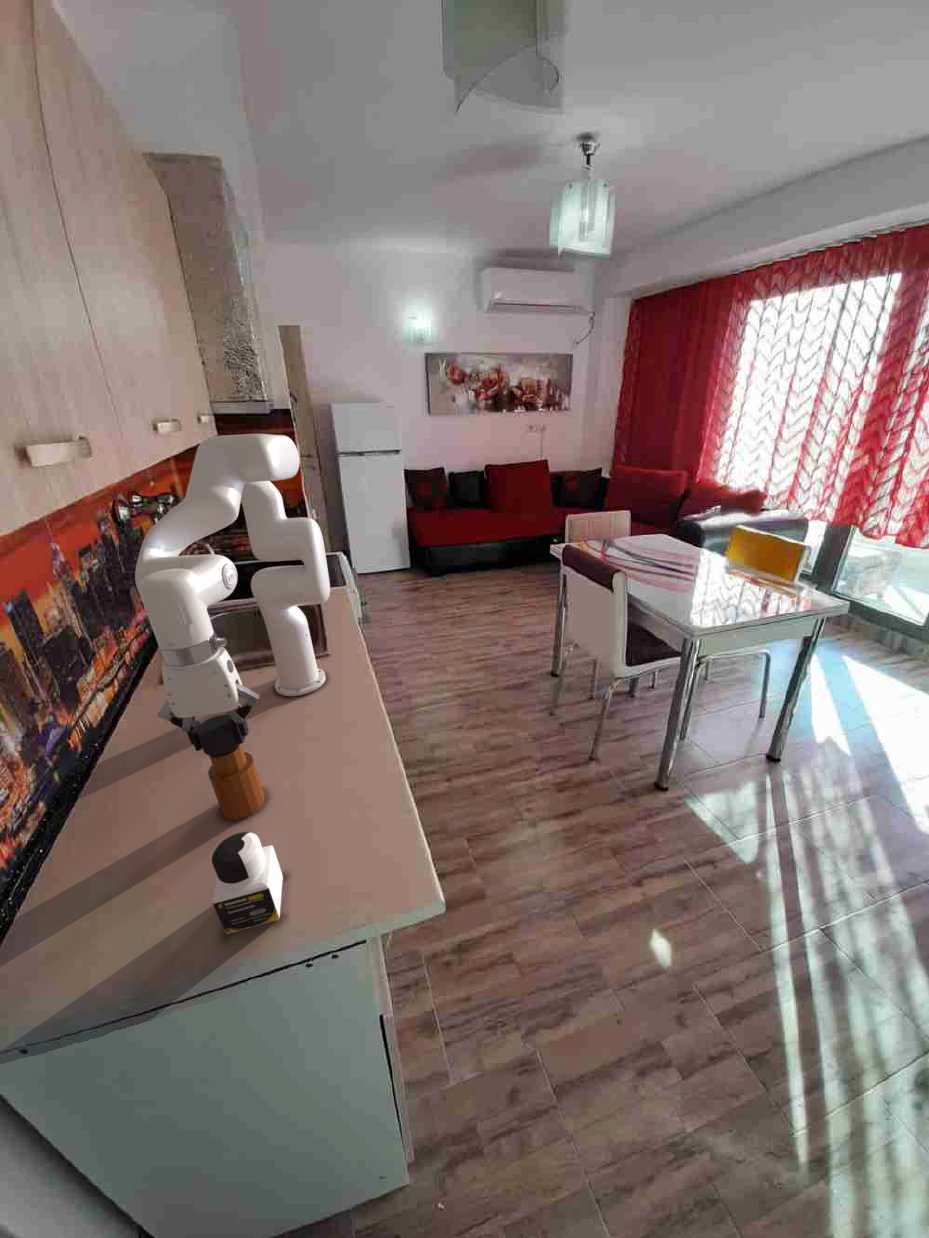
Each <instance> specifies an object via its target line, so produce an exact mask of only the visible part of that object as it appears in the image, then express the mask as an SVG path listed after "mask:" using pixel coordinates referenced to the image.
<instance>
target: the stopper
mask: <svg viewBox="0 0 929 1238" xmlns="http://www.w3.org/2000/svg"><path fill="white" fill-rule="evenodd" d="M233 724H234V720H233V719H232V718H231V717H230V716H229V715H228V714H218V715H214V716H211V717H209V718H207V719H206V720H204V721H203V722H202V723H201V724H200V725H199V727H198V728H197V735H198V737H199V740H200V743H201V746H202V751H203V753H204V754H205V755H207V756H208V757H209V756H217V757H219V756H225V755H227V754H229V753H232V752H233V751H234V750H235V748H236V747H237V746H238V745H239V743H238V741H237V738H236V735H235V732H234V729H233Z"/></svg>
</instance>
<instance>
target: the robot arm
mask: <svg viewBox="0 0 929 1238" xmlns="http://www.w3.org/2000/svg"><path fill="white" fill-rule="evenodd" d="M300 461H301V460H300V454H299V450H298V448H297V446H296V444H295V443H294V441H293V440H292V439H291V438H290V437H289V436H287V435H285V434H271V433H245V434H244V433H243V434H227V435H226V434H225V435H216V436H215V435H214V436H210V437H208V438H205V439H204V440H202V441H201V442H200V443H199V444H198V447H197V449H196V452H195V457H194V460H193V464H192V468H191V471H190V476H189V481H188V484H187V488H186V493H185V496H184V498H183V500H182V501H180V502H179V503H177V504H176V505H175V506H174V507H173V508H171V509H170V510H168V512H167V513H165V514H164V515H163V516H162V517H161V518H160V519H159V520H158V521H157V522H155V524H153V526H152V527H150V529H149V530H148V531H147V533H146V534H145V536H144V539H143V540H142V543H141V547H140V549H139V554H138V558H137V561H136V564H135V573H134V574H135V575H134V578H135V579H134V581H135V586H136V590H137V592H138V594H139V597H140V600H141V602H142V605H143V608H144V610H145V613H146V615H147V619H148V622H149V624H150V626H151V629H152V632H153V634H154V637H155V640H156V643H157V645H158V648H159V651H160V653H161V656H162V658H163V660H162V662H161V674H162V681H163V683H162V684H163V687H164V691H165V695H166V701H165V702H164V704H163V705H162V706H161V708H160V709H159V711H158V712H157V714H156V715H157V716H158V717H159V718H161V719H163V720H165V721H167V722H170V724H172V725H173V726H176V727H178V728H181V731H182V732H183V733H186V734H187V737H188V739H189V741H190V744H191V745H193V746H194V750H195V751H196V752H199V751H202V750H203V748H202V746H201V743H200V740H199V737H198V735H197V728H198V727H199V725H200V724H202V723H201V721H199V720H196V717H203V716H209V715H215V714H221V713H226V715H229V716H230V717H231V718H232V719H233V720H234V724H233V729H234V732H235V735H236V738H237V741H238V743H239V744H241V745H242V744H244V742H245V740H246V736H248V735H249V733H250V732H249V727H248V723H247V719H246V717H247V716H248V715H249V714H250V712H251V711H252V710H253V708H254V707H255V706H256V705H257V704H258V702H259V700H260V697H261V695H260V694H259V693H257V692H256V691H253V690H251V689H250V688H248V687H246V686H244V685H243V682H242V680H241V677H240V675H239V672H238V670H237V668H236V666H235V663H234V661H233V659H232V658H231V656H230V654H229V653H228V650H227V649H226V648H225V647H226V646H227V645H228V641H227V638H226V637H218V635H217V632H216V631H214V629H213V625H212V621H211V618H210V616H209V612H208V607H210V606H212V605H215V604H216V603H218V602H221V601H223V600H225V599H226V598H228V597H229V596H230V595H231V594H233V592H234V590H235V588H236V587H237V584H238V571H237V568H236V566H235V564H234V563H233V561H232V560H231V559H229V558H228V557H226V556H224V555H221V554H215V553H205V554H188V555H187V554H186V555H180V554H181V553H182V552H183V551H184V550H185V549H186V548H188V547H189V546H190V545H193V543H195V542H197V541H199V540H201V539H203V538H205V537H207V536H209V535H212V534H214V533H217V532H218V531H220V530H223V529H225V528H226V527H228V526H230V525H232V524H233V523H234V522H235V521H236V520H237V519H238V516H239V513H240V507H241V504H242V509H243V513H244V514H243V515H244V519H245V524H246V529H247V534H248V539H249V544H250V549H251V551H252V554H253V557H255V558H256V559H257V560H259V561H261V562H284V561H301V562H302V563H303V564H300V565H279V566H270V567H265V568H262V569H259V570H258V571H256V572H255V573H254V574H253V576H252V577H251V580H250V589H251V594H252V596H253V598H254V600H255V602H256V604H257V606H258V608H259V610H260V613H261V615H262V618H263V621H264V624H265V628H266V632H267V636H268V641H269V644H270V647H271V652H272V655H273V660H274V663H275V667H276V670H277V674H278V678H277V679H276V680H275V682H274V689H275V691H276V692H277V694H279V695H281V696H285V697H298V696H303V695H307V694H310V693H312V692H314V691H316V690H317V689H318V690H319V688H321V686H323V685H324V683H325V682H326V679H327V678H326V674H325V671H324V670H323V669H322V668H319V667H318V665H317V661H316V656H315V651H314V650H315V649H314V646H313V642H312V637H311V632H310V628H309V623H308V620H307V616H306V615H305V613H304V612H303V610H301V608H299V607H300V606H314V605H321V604H325V603H326V602H327V601H328V600H329V598H330V594H331V582H330V576H329V569H328V563H327V556H326V550H325V549H326V548H325V543H324V537H323V533H322V530H321V527H320V525H319V523H318V522H316V520H315V519H312V518H310V517H289V518H288V517H287V515H286V512H285V511H286V510H285V506H284V501H283V496H282V494H281V492H280V490H279V489H278V488H277V487H276V486H275V485H274V483H272V482H273V481H283V480H288V479H291V478H294V477H295V476H296V475H297V473H298V471H299V469H300V464H301V463H300ZM240 698H242V699H244V700H246V702H244V703H243V705H242V704H241V703H240V702H239V701H240Z"/></svg>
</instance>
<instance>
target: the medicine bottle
mask: <svg viewBox="0 0 929 1238" xmlns="http://www.w3.org/2000/svg"><path fill="white" fill-rule="evenodd" d="M277 857H278V856H277V854H276V850H275V848H274V846H273V845H271V844H270V845H267V846H262V843H261V840H260V838H259V836H258V835H257V834H255V833H253V832H250V831H241V832H237V833H234V834H231V835H229V836H228V837H226V838H225V839H224V840H222V841H221V842H220V843H219V844H218V845H217V847H216V848H215V850H214V851H213V853H212V856H211V864H212V866H213V867H212V868H213V869H214V871H215V874H216V876H217V878H216V882H215V886H214V891H213V895H212V900H211V902H212V905H213V907H214V910H215V912H216V914H217V917H218V919H219V921H220V923H221V926H222V928H223V930H224V933H225V934H226V935H229V934H234V933H237V932H241V931H243V930H247V929H251V928H253V927H254V928H255V927H258V926H261V925H265V924H268V923H271V922H275V921H278V920H279V919H280V916H281V905H282V894H283V893H282V892H283V891H282V890H283V882H284V881H283V879H284V875H283V873H282V870H281V869H282V868H281V865H280V863H279V860H278V858H277Z"/></svg>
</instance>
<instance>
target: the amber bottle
mask: <svg viewBox="0 0 929 1238" xmlns="http://www.w3.org/2000/svg"><path fill="white" fill-rule="evenodd" d="M208 757H209V760H210V763H211V765H210V767H209V769H208V771H207V775H208V778H209V780H210V784H211V786H212V789H213V792H214V794H215V797H216V800H217V802H218V805H219V807H220V811H221V813H222V814H223V816H224V817H225V818H226V819H229V820H241V819H244V818H247V817H249V816H251V815H253V814H254V813H256V812H257V811H258V810H259V809H260V808H261V807H262V805H263V804H264V802H265V797H266V795H265V792H264V789H263V786H262V783H261V779H260V776H259V773H258V770H257V767H256V764H255V761H254V758H253V755H252V754H250V753H249V752H246V751H244V748H243V745H242V744H239V745H238V746H237V747H236V748H235V750H234V751H233V752H232V753H229V754H227V755H225V756H219V757H217V756H209V755H208Z"/></svg>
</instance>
